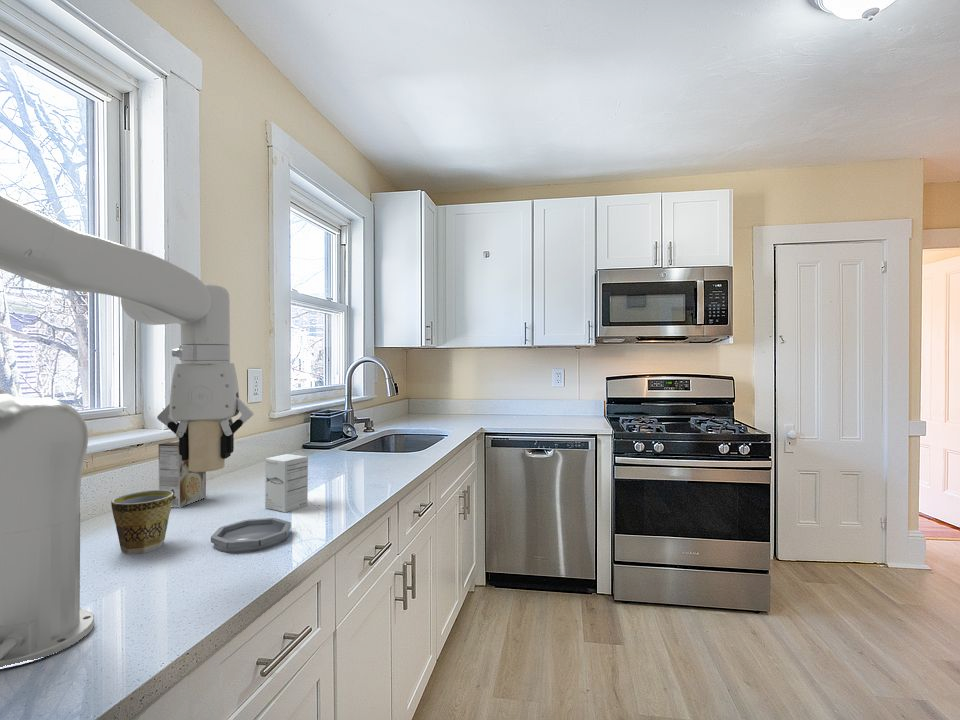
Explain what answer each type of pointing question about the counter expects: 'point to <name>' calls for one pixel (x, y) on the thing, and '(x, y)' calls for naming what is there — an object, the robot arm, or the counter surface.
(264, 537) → the slate dish
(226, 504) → the counter surface
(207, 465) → the candle
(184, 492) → the coffee box
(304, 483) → the supplement box
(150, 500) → the ceramic cup
